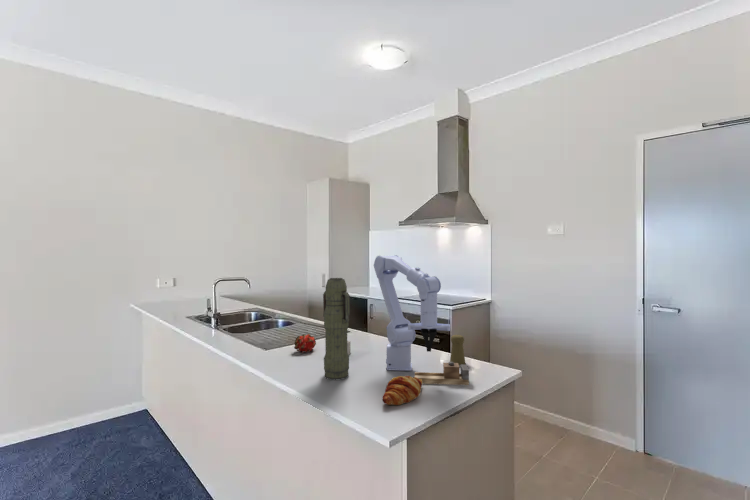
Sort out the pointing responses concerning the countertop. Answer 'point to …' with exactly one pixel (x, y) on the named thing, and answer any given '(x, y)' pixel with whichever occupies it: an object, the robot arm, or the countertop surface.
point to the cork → (457, 349)
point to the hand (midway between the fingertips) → (428, 350)
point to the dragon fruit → (305, 343)
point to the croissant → (402, 390)
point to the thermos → (336, 328)
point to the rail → (439, 377)
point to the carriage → (451, 370)
